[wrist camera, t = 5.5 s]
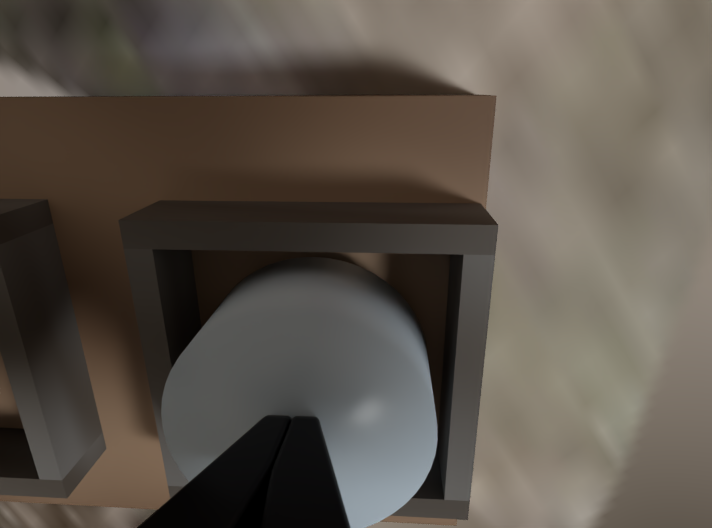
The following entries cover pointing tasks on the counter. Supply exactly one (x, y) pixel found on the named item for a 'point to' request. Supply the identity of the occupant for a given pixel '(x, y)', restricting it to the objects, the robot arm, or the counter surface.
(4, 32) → the counter surface
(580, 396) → the counter surface
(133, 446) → the button board
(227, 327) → the slate button
